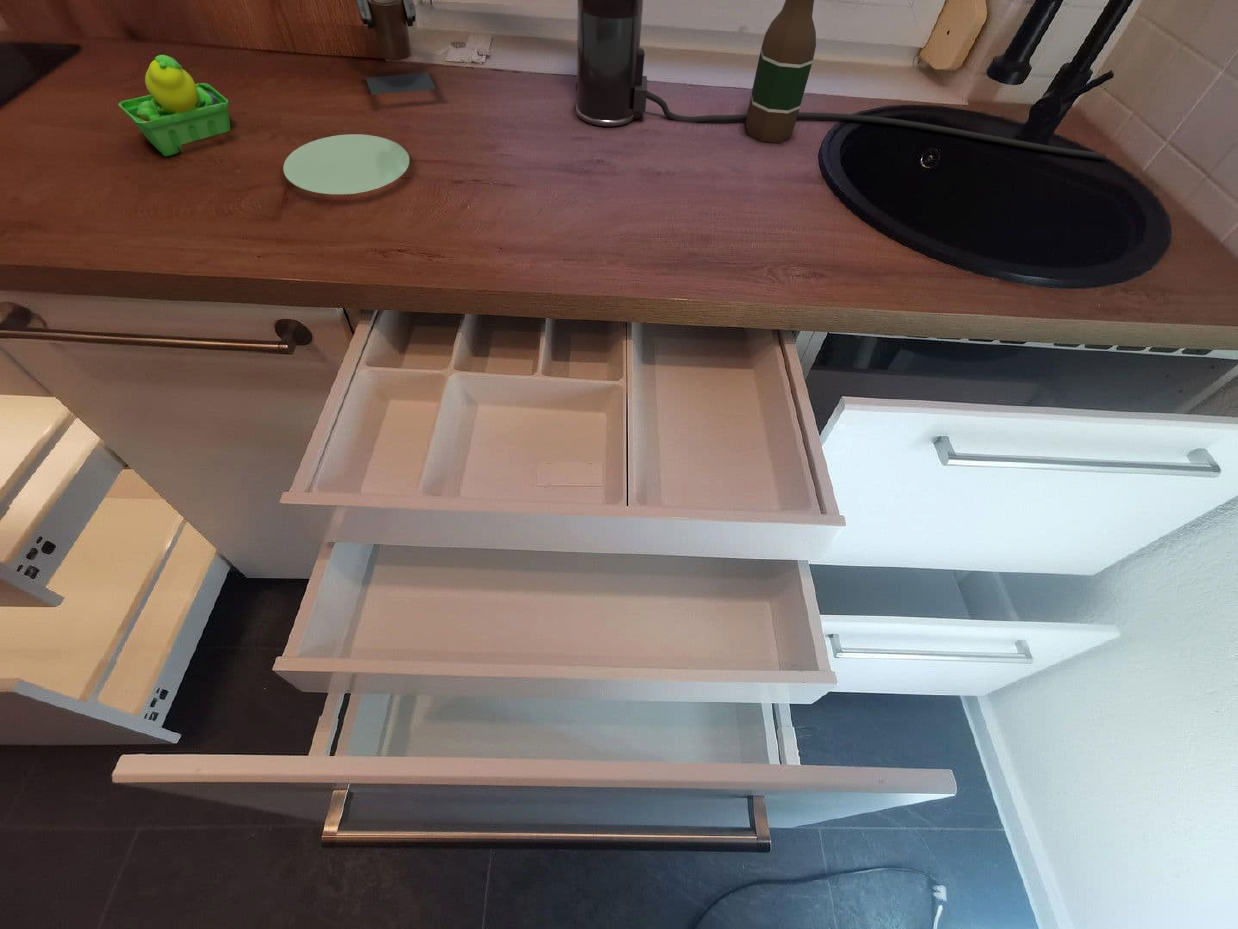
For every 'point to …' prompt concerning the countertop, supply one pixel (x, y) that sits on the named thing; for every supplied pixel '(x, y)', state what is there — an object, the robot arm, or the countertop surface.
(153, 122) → the fruit basket
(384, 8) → the pepper mill
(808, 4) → the beer bottle
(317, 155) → the plate
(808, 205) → the countertop surface
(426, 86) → the mat
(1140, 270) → the countertop surface
